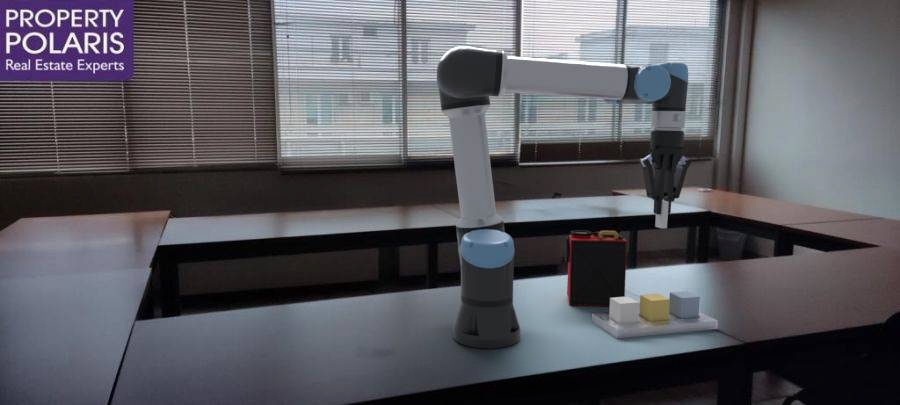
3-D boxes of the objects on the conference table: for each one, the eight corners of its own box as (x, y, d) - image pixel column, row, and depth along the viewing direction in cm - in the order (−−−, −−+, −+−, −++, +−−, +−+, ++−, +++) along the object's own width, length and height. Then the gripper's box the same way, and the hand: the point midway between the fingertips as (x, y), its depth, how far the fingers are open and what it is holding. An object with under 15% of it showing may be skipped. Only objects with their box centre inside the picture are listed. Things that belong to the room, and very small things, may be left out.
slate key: (680, 318, 141) (681, 298, 141) (668, 312, 146) (669, 292, 145) (698, 317, 142) (699, 296, 142) (686, 310, 147) (687, 291, 146)
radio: (619, 296, 166) (622, 225, 163) (626, 307, 156) (629, 232, 153) (561, 295, 167) (563, 224, 165) (565, 306, 157) (567, 231, 155)
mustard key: (650, 321, 139) (651, 300, 139) (639, 315, 144) (640, 295, 143) (668, 319, 140) (669, 299, 140) (657, 313, 145) (658, 293, 144)
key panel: (617, 338, 134) (617, 329, 133) (591, 321, 145) (592, 313, 145) (717, 329, 140) (718, 320, 139) (685, 313, 151) (686, 305, 151)
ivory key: (619, 324, 137) (620, 303, 137) (609, 318, 142) (610, 297, 141) (638, 323, 139) (639, 302, 138) (627, 316, 143) (628, 296, 143)
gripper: (651, 129, 137) (645, 230, 140) (701, 130, 140) (694, 229, 143) (634, 128, 144) (628, 225, 147) (682, 129, 147) (675, 224, 150)
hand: (660, 227), depth 145 cm, fingers closed
